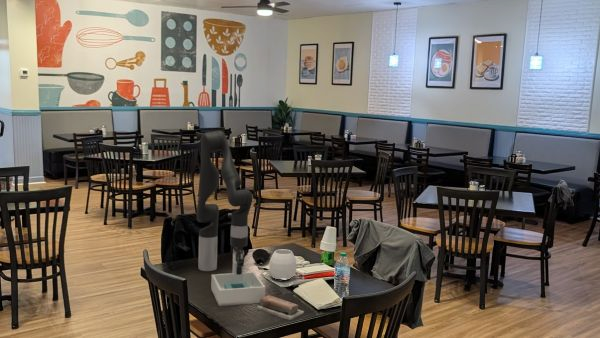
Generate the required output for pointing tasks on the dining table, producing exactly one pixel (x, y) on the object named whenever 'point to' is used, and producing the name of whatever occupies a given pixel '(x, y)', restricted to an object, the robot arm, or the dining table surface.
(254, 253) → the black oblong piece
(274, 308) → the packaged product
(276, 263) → the white round vase
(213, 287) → the walled box
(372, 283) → the dining table surface
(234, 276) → the grey upright block
